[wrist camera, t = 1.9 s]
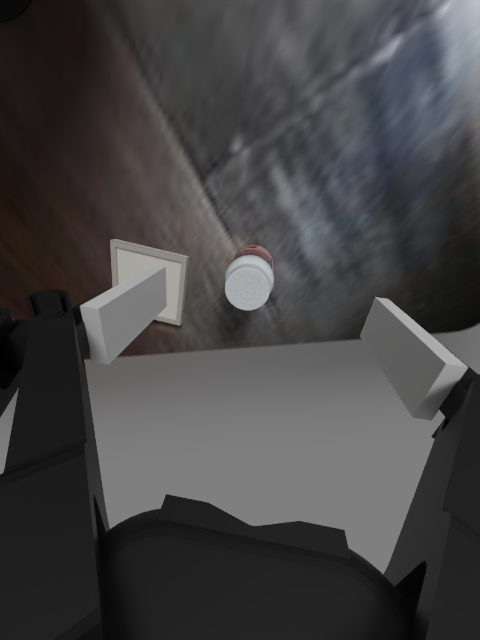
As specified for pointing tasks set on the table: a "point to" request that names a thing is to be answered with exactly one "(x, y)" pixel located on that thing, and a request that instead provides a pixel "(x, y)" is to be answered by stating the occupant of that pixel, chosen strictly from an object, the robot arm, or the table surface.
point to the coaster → (139, 258)
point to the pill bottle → (249, 278)
